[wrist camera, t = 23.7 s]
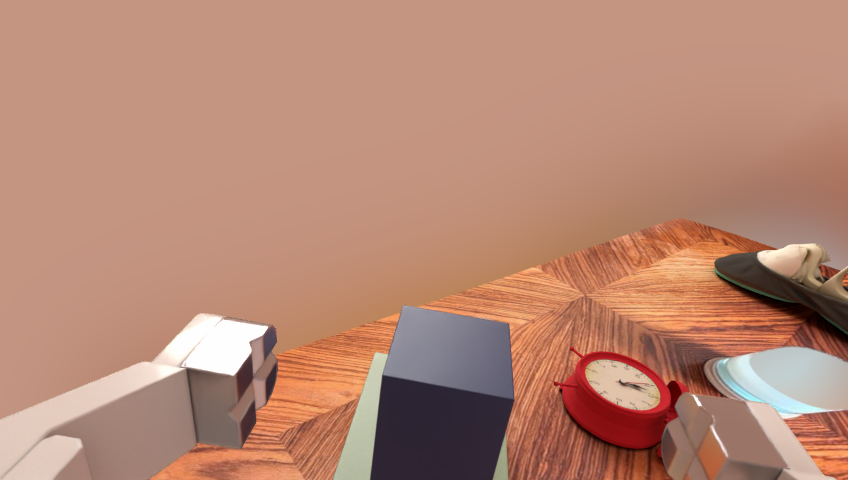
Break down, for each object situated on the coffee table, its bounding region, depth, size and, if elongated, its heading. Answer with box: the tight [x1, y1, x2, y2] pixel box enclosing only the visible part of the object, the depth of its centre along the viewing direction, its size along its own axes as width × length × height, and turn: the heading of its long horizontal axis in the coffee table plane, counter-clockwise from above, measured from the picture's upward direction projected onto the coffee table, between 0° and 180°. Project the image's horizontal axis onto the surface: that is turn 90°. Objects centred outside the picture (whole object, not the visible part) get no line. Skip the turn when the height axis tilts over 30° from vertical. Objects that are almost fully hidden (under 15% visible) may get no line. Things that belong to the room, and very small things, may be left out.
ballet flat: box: [714, 244, 848, 335], centre depth 74 cm, size 10×30×10 cm, turn 32°
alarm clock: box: [554, 347, 689, 457], centre depth 49 cm, size 10×6×15 cm
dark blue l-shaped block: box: [370, 305, 514, 480], centre depth 32 cm, size 16×6×14 cm, turn 173°
